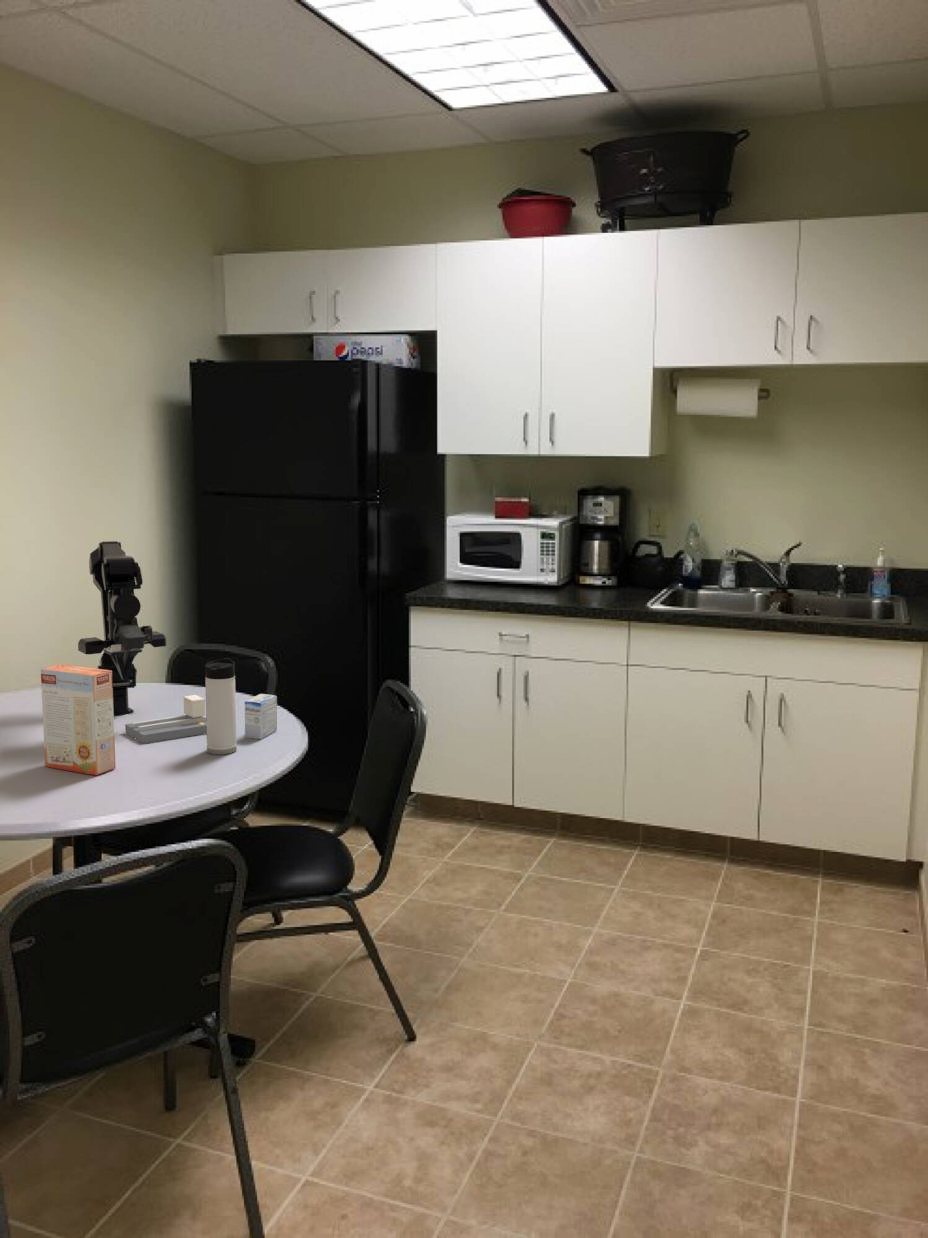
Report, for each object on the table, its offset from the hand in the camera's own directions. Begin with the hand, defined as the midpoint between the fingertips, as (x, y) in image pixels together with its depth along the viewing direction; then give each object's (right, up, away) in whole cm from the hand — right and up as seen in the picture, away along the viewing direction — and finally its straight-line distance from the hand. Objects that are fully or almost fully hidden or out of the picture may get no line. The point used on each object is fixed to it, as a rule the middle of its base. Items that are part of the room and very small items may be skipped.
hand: (124, 679), depth 247 cm
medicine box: (+32, -13, 0) cm, 34 cm away
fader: (+15, -10, +4) cm, 19 cm away
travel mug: (+26, -15, -13) cm, 32 cm away
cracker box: (0, -17, -27) cm, 32 cm away
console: (+11, -12, 0) cm, 16 cm away
